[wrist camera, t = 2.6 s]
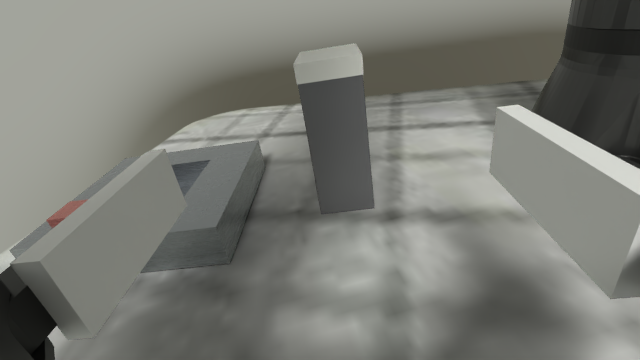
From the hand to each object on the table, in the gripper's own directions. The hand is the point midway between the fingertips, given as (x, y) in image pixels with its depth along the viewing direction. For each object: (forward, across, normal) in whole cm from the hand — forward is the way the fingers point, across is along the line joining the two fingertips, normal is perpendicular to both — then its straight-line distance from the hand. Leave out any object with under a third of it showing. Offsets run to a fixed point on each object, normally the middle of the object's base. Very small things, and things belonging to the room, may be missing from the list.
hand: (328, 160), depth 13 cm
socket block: (+11, -15, -8) cm, 20 cm away
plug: (+11, 0, -8) cm, 14 cm away
